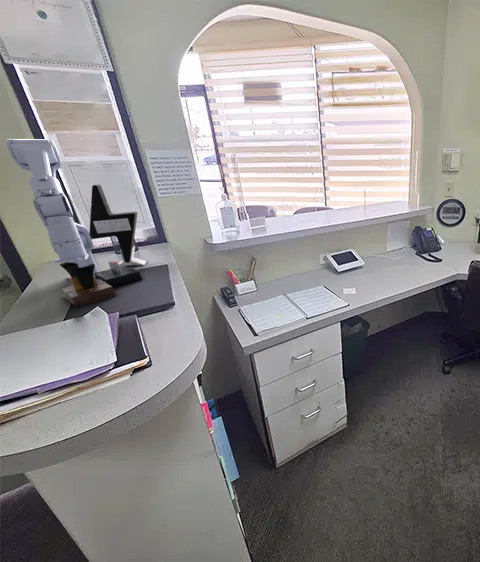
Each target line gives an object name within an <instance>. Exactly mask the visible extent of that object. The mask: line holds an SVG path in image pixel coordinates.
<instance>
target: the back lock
mask: <svg viewBox="0 0 480 562" xmlns="http://www.w3.org/2000/svg"><path fill="white" fill-rule="evenodd" d="M118 263H119V262H117V261H114V260H108V266H109V269H111V271H112V272H115V273H117V274H118V273H121V270H120V268H119V265H118Z"/></svg>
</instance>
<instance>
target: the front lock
mask: <svg viewBox="0 0 480 562" xmlns="http://www.w3.org/2000/svg"><path fill="white" fill-rule="evenodd" d="M93 278H94V286H96V285H98V284H97V282H96V278H95V277H94V274H93ZM69 281H70V283H71V286H73V287H74V289H75V290H76V291H77V290H80V289H84V288H83V287H82V286H81V284H80V283H79V281H78V280H77V278H76V277H71V278H70V279H69Z"/></svg>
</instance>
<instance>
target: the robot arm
mask: <svg viewBox="0 0 480 562" xmlns="http://www.w3.org/2000/svg"><path fill="white" fill-rule="evenodd" d="M5 144H6V147H7V149H8V152H9V154H10V156H11V158H12V159H13V161H15V163H16V165H17V166H18V167H19V168H20V169H21V170H25V171H29V172H30V173H31V174H32V176H31V177H30V178H29V185H30V188H31V191H32V194H33V198H34V199H32V204H33V207H34V210H35V211H36V214H37V215H38V217H39V218H40V220H41V222H42V223H43V226H44V227H45V228H46V230H47V235H48V238H49V239H48V240H49V242H50V245H51V247H52V249H53V251H54V253H55V254H57V256H58V258H55V259H53V262H54V263H56V264H57V263H59V264H58V265H59V266H60V267H61V268H63V270H65V271H66V272H67V273H68V275H67V276H66V277H67V279H69V280H70V278H71V277H76V278H77V280H78V281H79V283H80V284H81V286H82V287H83V288H84V289H85V290H87V289H91V288H94V278H93V274H94V273H96V272H100V270H99V268H98V266H97V263H96V260H95V257H94V256H93V253H92V250H93V249H94V248H95V245H94V242H93V239H91V237H90V234H89V232H90V231H89V229H88V228H87V227H86V226H85V225H83V224H80V223H78V222H75V220H74V212H73V210H72V206H71V204H70V202H69V200H68V197H67V196H66V194H65V193H64V190H63V189H62V185H61V183H60V181H59V180H58V179H57V170H59V169H62V168H63V166H62V165H63V163H62V159H61V156H60V154H59V151H58V149H57V146H56V143H55V141H54V140H52V139H51V138H47V139H41V138H40V139H39V138H35V139H34V138H22V139H21V138H6V140H5ZM94 277H95V275H94Z"/></svg>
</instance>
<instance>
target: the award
mask: <svg viewBox="0 0 480 562" xmlns="http://www.w3.org/2000/svg"><path fill="white" fill-rule="evenodd" d="M90 199H91V200H90V204H91V205H90V215H89V231H88V232H89V234H90V237H91V240H97V239H103V238H111V237H116V239H117V241H118V244H119V248H120V249H119V252H120V255H121V256H120V257H121V259H122V260H120V261H119V262H117V263H118V265H119V267H122V266H127V265H135V266H145V265H146V263H147V261H146V260H144V259H141V258H136V257H135V249H136V245H135V238H136V236H135V235H136V228H137V221H138V212H137V211H128V212H127V211H126V212H118V213H113V212H112V211H111V208H110V206H109V203H108V200H107V198H106V195H105V193H104V190H103V188H102V185H101V184H99V183H98V184H93V185H92V186H91V198H90Z"/></svg>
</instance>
